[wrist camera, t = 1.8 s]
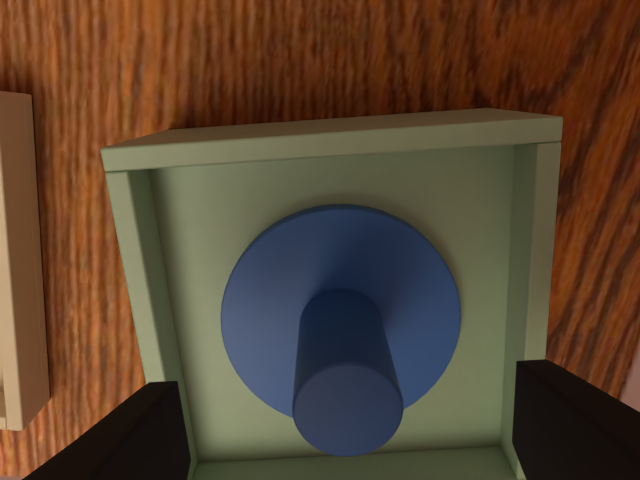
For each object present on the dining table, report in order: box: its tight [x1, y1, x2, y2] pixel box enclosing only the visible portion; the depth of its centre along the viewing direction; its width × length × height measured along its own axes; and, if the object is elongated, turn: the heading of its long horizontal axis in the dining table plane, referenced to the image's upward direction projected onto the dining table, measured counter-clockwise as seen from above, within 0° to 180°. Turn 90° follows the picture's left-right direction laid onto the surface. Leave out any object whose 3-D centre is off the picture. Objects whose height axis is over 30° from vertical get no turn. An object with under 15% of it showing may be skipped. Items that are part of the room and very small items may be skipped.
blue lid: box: [220, 204, 461, 457], centre depth 13 cm, size 7×7×5 cm
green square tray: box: [101, 108, 563, 480], centre depth 16 cm, size 11×11×6 cm
